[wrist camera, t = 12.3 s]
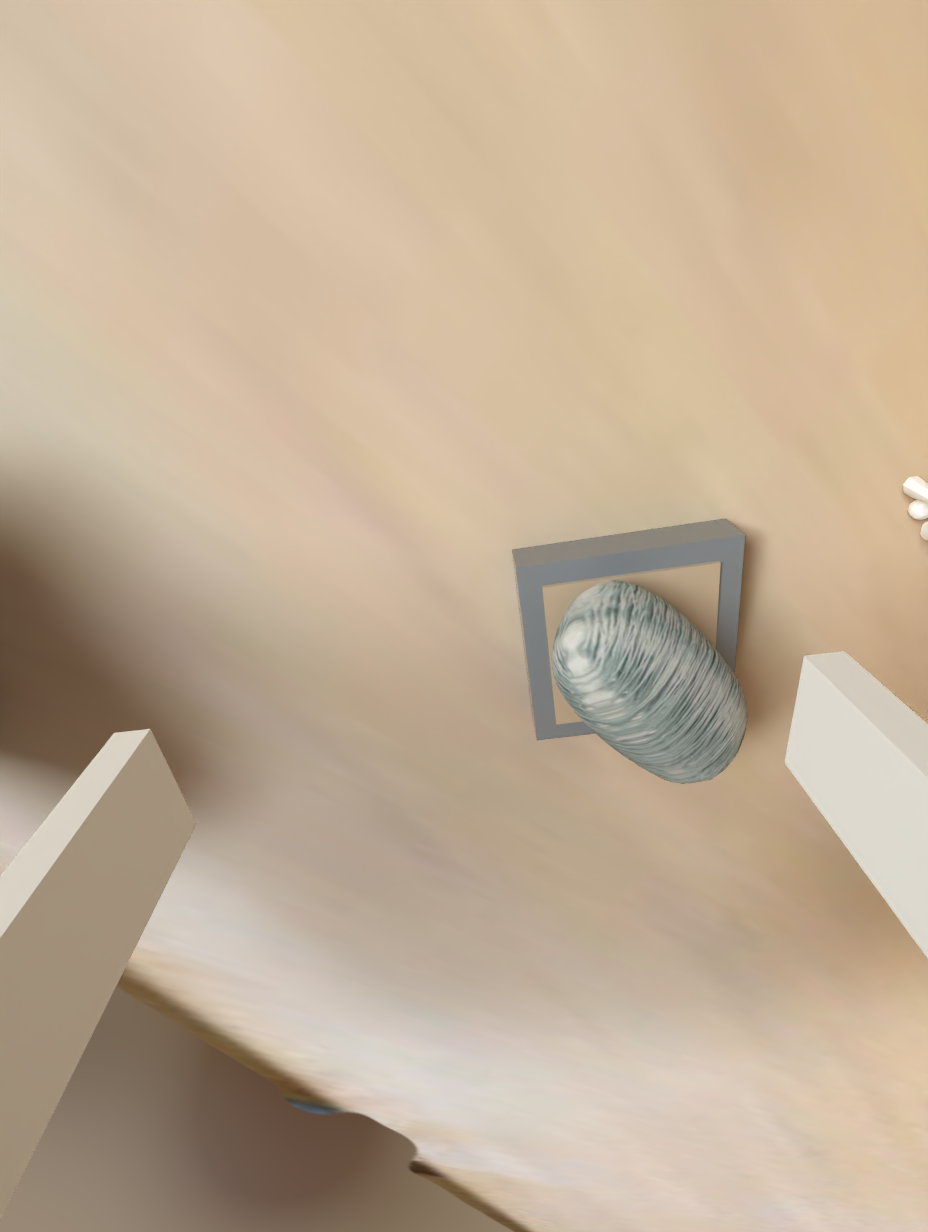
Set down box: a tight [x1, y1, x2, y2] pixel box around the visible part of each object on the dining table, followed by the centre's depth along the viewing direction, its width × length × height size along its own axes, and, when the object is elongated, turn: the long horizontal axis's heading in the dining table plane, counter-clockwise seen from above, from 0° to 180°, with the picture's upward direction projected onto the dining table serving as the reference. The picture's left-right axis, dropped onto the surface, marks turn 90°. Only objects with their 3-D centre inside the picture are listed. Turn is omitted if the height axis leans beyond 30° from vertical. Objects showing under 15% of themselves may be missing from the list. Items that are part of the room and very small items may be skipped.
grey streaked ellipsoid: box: [551, 580, 747, 784], centre depth 35 cm, size 14×10×10 cm
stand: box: [512, 519, 745, 740], centre depth 40 cm, size 14×14×3 cm
